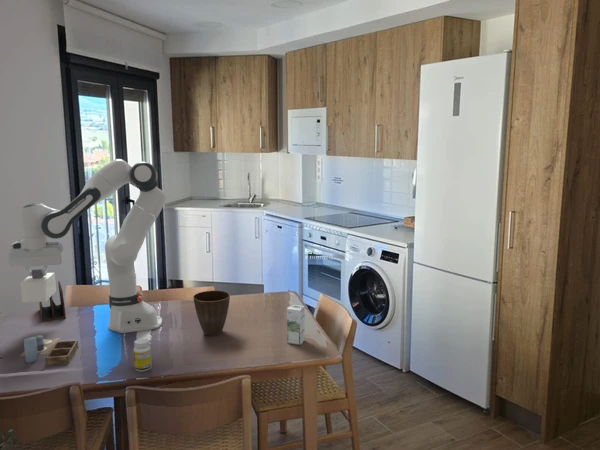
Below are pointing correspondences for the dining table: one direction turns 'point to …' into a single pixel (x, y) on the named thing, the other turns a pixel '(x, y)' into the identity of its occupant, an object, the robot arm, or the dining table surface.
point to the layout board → (44, 345)
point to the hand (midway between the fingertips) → (38, 275)
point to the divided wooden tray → (62, 352)
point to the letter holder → (53, 309)
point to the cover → (38, 286)
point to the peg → (30, 349)
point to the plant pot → (212, 310)
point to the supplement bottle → (142, 355)
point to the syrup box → (295, 324)
